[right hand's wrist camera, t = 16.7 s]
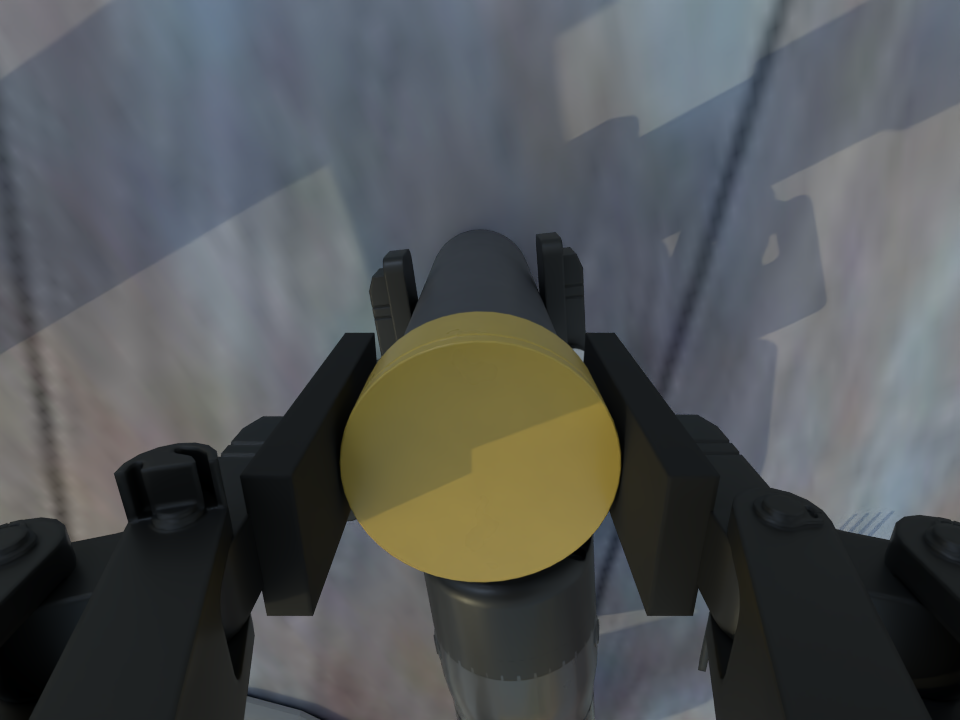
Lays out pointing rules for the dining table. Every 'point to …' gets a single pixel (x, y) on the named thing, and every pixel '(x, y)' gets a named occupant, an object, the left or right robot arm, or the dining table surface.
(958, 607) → the right robot arm
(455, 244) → the dark grey cylinder
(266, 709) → the wall clock
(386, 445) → the lid
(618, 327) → the dining table surface
